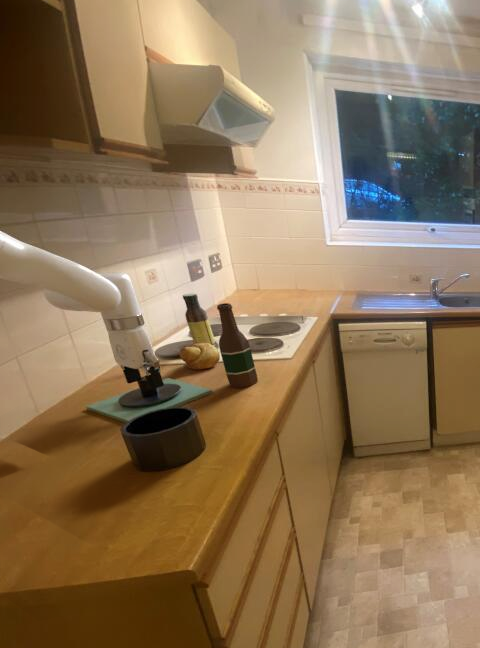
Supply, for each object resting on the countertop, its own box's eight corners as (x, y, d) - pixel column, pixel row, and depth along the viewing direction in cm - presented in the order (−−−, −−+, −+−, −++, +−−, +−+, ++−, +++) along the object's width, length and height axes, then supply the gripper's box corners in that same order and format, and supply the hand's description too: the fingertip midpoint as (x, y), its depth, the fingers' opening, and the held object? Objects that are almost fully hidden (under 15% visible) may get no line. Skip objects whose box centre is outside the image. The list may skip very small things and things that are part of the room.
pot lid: (138, 412, 109) (131, 392, 107) (108, 403, 114) (100, 383, 112) (192, 391, 121) (187, 373, 119) (163, 383, 126) (157, 365, 124)
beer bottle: (238, 391, 124) (217, 309, 115) (223, 385, 127) (201, 305, 118) (264, 381, 130) (246, 303, 121) (248, 376, 134) (230, 299, 124)
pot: (157, 478, 87) (144, 441, 83) (120, 463, 91) (106, 428, 88) (218, 446, 97) (208, 413, 94) (183, 434, 102) (172, 402, 99)
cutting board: (132, 425, 106) (131, 421, 105) (87, 409, 113) (85, 406, 113) (213, 392, 123) (212, 389, 122) (168, 380, 130) (167, 377, 130)
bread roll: (192, 359, 146) (186, 337, 143) (226, 356, 149) (220, 333, 146) (182, 373, 135) (175, 349, 132) (218, 369, 138) (212, 345, 135)
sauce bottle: (208, 344, 160) (193, 291, 152) (220, 346, 158) (206, 292, 150) (191, 350, 154) (174, 295, 147) (203, 352, 152) (187, 296, 145)
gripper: (87, 322, 109) (110, 384, 116) (127, 331, 103) (149, 395, 109) (122, 315, 116) (142, 374, 122) (162, 323, 109) (181, 384, 116)
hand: (145, 384), depth 116 cm, fingers open, 9 cm apart
